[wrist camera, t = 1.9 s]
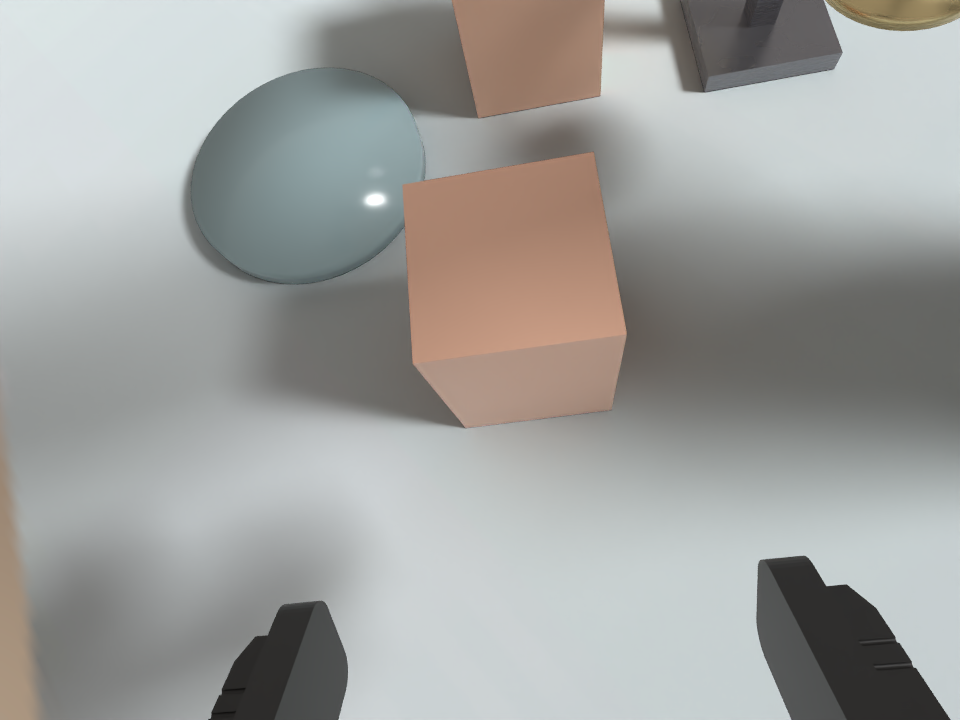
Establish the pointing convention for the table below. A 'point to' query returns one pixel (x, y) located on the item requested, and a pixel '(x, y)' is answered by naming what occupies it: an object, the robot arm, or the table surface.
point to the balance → (790, 34)
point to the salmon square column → (530, 51)
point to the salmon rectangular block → (514, 291)
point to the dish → (307, 175)
